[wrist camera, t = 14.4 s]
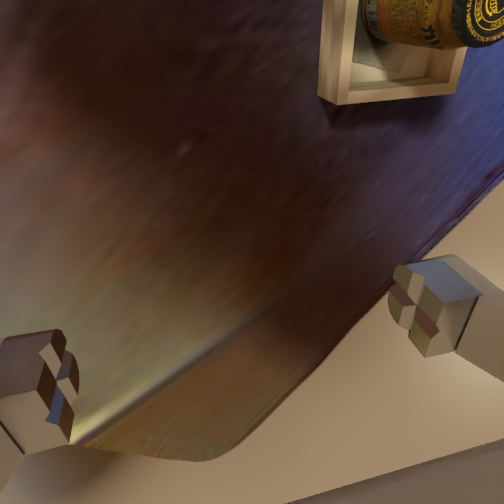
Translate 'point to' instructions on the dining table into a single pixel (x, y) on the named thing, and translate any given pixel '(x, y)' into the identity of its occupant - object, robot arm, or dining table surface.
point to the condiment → (422, 28)
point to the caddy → (372, 78)
